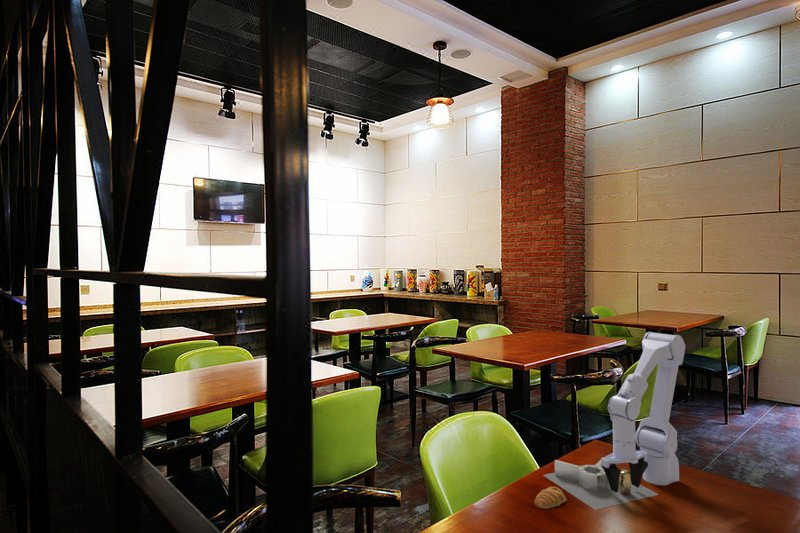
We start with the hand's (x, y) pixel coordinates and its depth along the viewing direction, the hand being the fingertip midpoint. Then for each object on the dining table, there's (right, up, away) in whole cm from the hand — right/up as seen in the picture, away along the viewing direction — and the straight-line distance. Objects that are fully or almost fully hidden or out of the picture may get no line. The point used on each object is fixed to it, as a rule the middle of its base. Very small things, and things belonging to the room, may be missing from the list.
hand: (624, 488), depth 132 cm
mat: (-5, -3, +6) cm, 8 cm away
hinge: (-6, -1, +9) cm, 11 cm away
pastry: (-22, -3, -3) cm, 22 cm away
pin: (0, -1, 0) cm, 1 cm away
